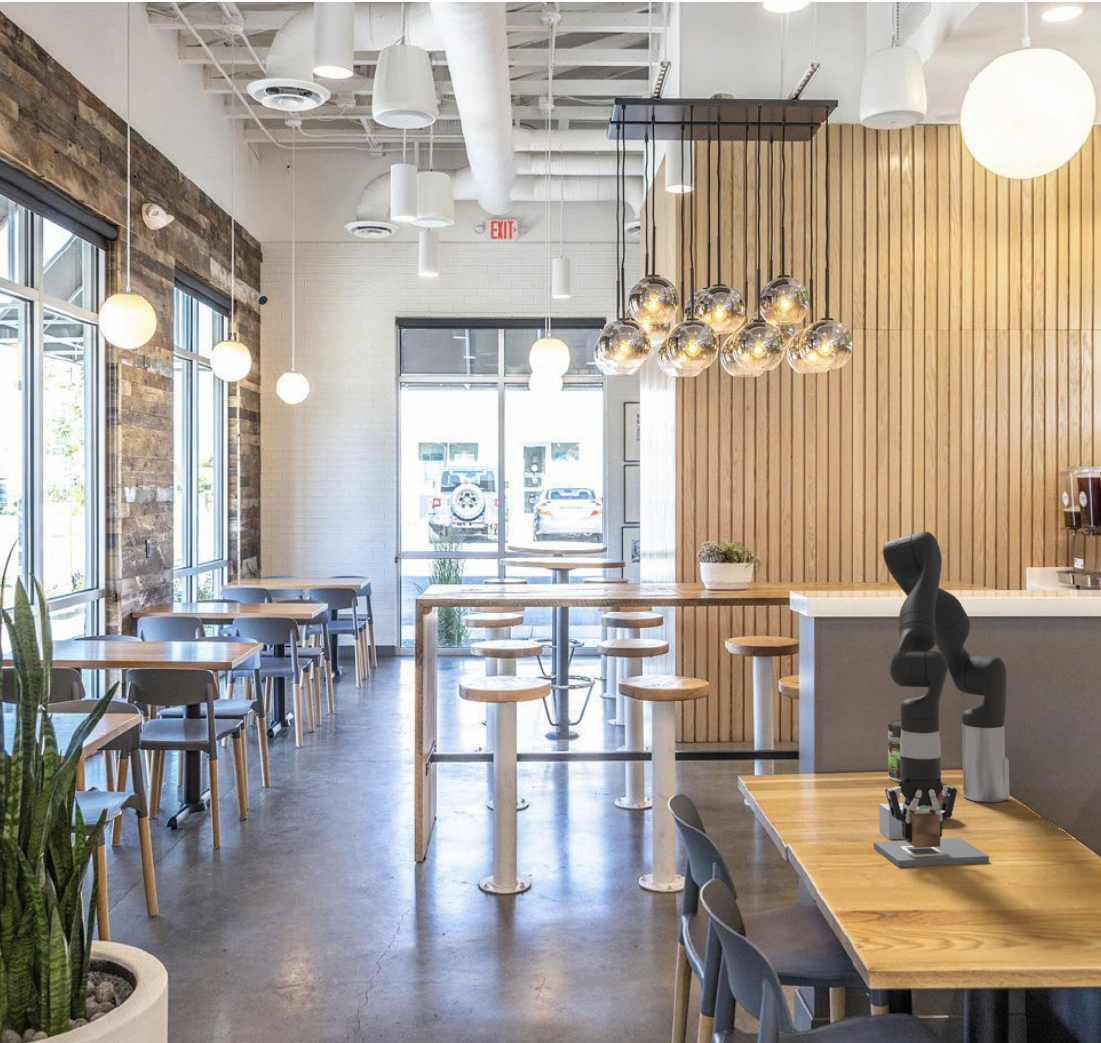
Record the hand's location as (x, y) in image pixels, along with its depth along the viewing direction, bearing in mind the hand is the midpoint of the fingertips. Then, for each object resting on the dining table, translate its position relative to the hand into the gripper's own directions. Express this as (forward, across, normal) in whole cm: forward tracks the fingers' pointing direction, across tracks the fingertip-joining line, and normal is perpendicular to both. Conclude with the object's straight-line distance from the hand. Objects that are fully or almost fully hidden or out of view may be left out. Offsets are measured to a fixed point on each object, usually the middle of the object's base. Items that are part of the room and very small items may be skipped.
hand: (921, 839), depth 213 cm
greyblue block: (+3, -1, -15) cm, 15 cm away
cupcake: (+4, -14, -26) cm, 30 cm away
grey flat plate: (+3, -2, -1) cm, 4 cm away
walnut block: (+1, 0, 0) cm, 1 cm away
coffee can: (+4, -24, -61) cm, 66 cm away
